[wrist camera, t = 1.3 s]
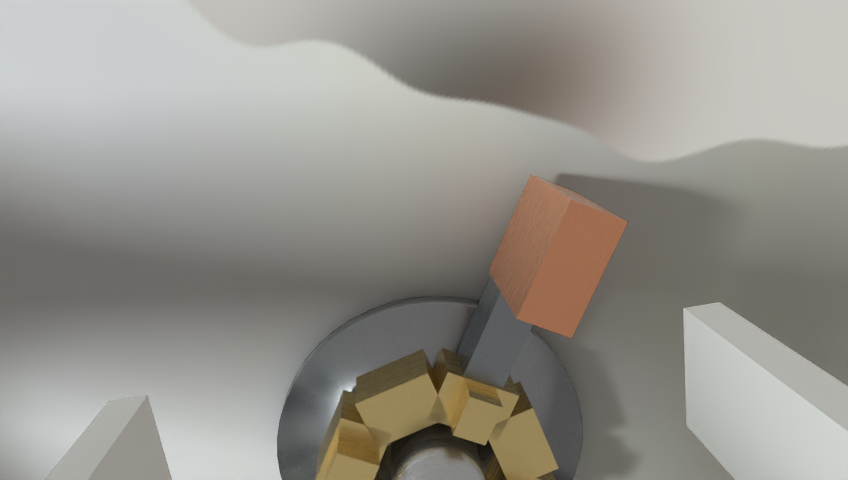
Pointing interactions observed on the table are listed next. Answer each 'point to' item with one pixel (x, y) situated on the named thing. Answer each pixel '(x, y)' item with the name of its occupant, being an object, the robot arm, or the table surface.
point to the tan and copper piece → (486, 348)
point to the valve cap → (432, 330)
